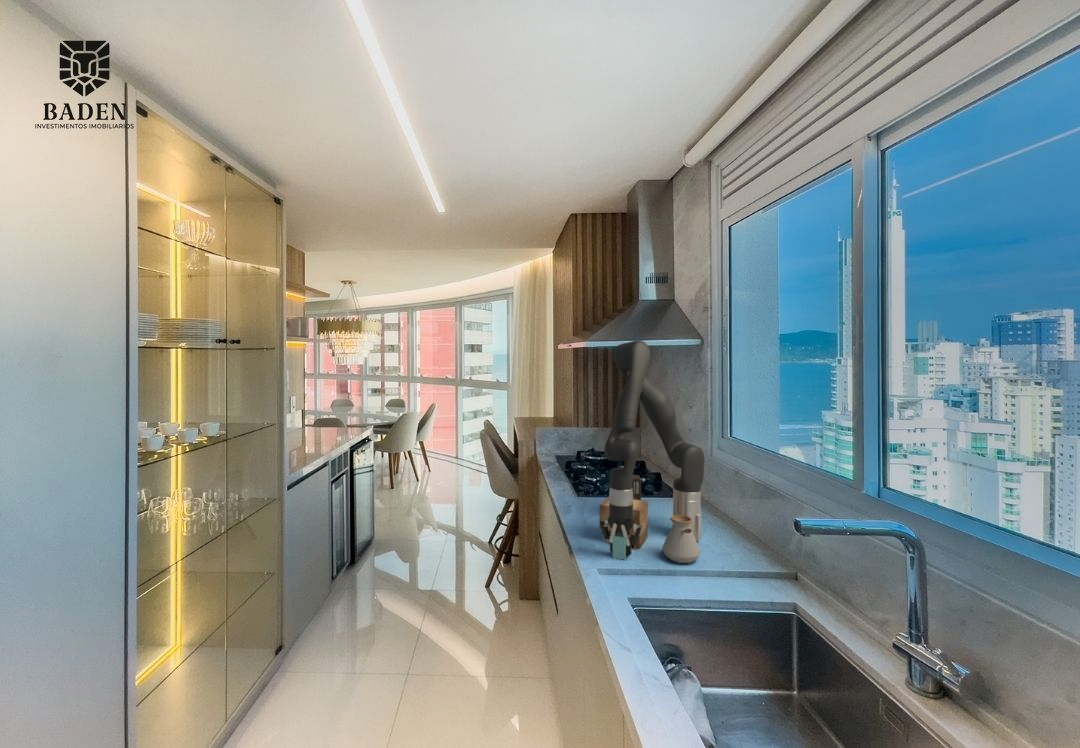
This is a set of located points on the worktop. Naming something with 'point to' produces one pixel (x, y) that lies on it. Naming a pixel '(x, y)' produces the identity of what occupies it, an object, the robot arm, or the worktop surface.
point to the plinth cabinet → (638, 517)
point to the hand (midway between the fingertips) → (620, 554)
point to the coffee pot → (681, 541)
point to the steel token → (607, 540)
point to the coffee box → (636, 487)
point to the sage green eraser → (619, 546)
